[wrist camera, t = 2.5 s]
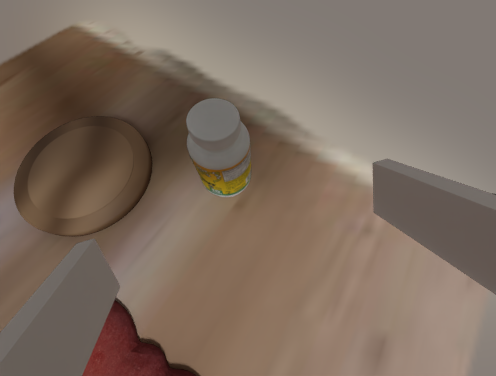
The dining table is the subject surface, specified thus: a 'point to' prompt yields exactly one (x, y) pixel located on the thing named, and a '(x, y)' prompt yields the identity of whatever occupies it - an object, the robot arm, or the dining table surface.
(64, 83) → the dining table surface
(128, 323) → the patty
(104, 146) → the plate
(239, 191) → the supplement bottle
